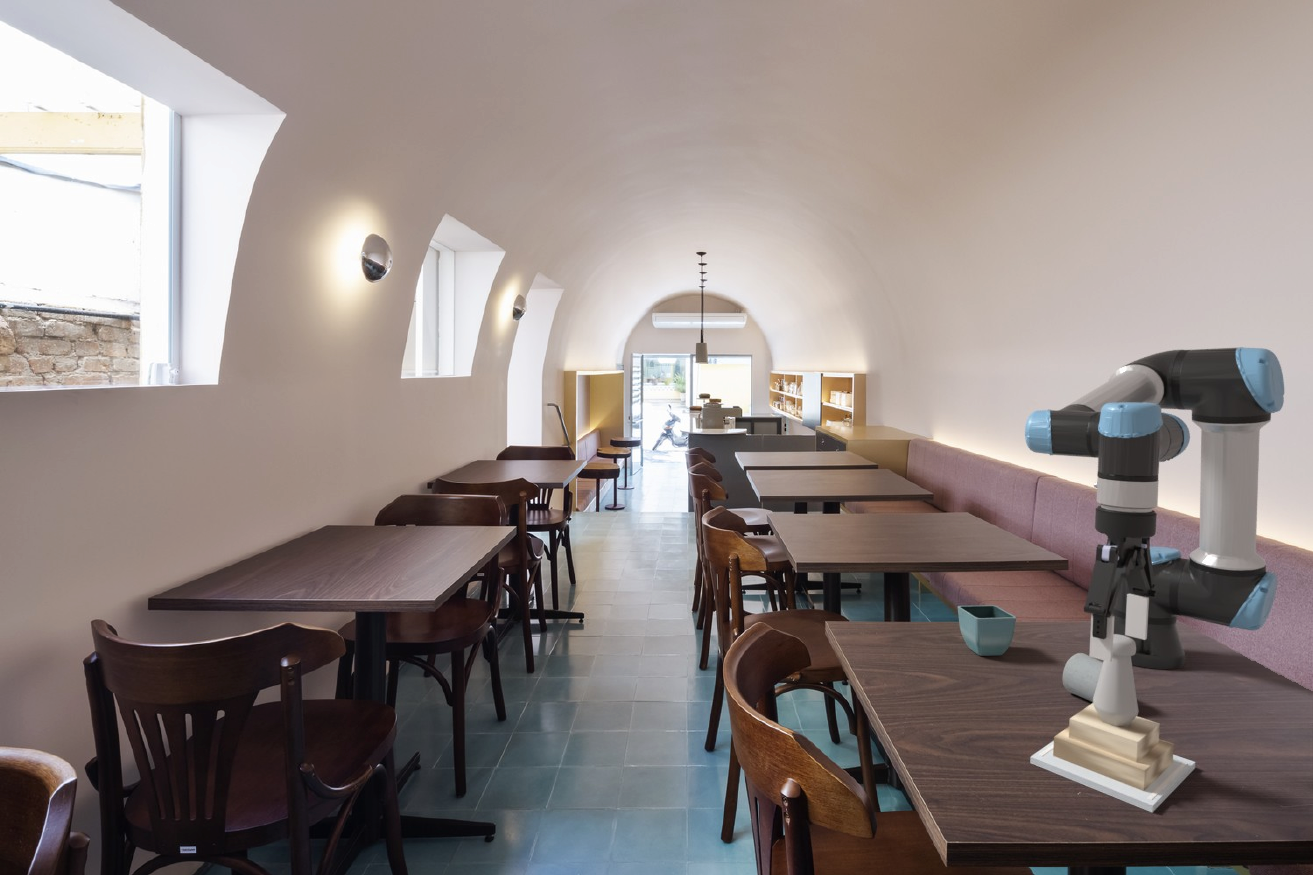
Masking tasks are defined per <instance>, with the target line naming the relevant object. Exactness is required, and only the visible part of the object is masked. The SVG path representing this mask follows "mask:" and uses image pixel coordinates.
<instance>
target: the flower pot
mask: <svg viewBox="0 0 1313 875" xmlns="http://www.w3.org/2000/svg"><path fill="white" fill-rule="evenodd" d="M957 613H958V621H959V622H958V625H959V629H960V633H961V636H962V638H963V641H964V642H965V644H966V646H967V647H968V648H969V649H970V650H972V652H974V653H975V654H977V655H978V656H980V657H983V656H990V657H991V656H1003V654H1005V653H1006V651H1008V648H1010V645H1011V643H1012V641H1013V639H1014V633H1015V628H1016V622H1017V617H1016V616H1015V615H1014V614H1012V613H1010V612H1008V611H1006V610H1005V609H1003V608H1001V607H1000V606H998V605H996V604H995V605H994V604H993V605H992V604H991V605H984V604H983V605H958V606H957Z"/></svg>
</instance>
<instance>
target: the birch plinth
mask: <svg viewBox="0 0 1313 875" xmlns="http://www.w3.org/2000/svg"><path fill="white" fill-rule="evenodd" d="M1068 722H1069V723H1068V724H1069V725H1068V727H1066V728H1065V729H1064V730H1062V731H1060V732H1059V733H1058V734H1056V735H1054V736H1053V741H1054V746H1053V756H1055V757H1057V758H1060V759H1063V760H1065V761H1068V762H1070V763H1073V764H1075V765H1078V766H1080V767H1083V768H1086V769H1088V770H1091V771H1093V772H1096V773H1098V774H1101V775H1104V776H1106V777H1109V778H1111V779H1114V780H1116V781H1119V782H1121V783H1124V784H1127V785H1129V786H1132V787H1134V788H1137V789H1139V790H1142V791H1144V790H1145V789H1146V788H1147V787H1148V786H1149V785H1151V784H1152V783H1153V782H1154V781H1155V780H1156V779H1157V778H1158V777H1159V776H1160V775H1161V774H1162V773H1163V772H1164V771H1165V770H1166V769H1167V768H1168V767H1169V766H1170V765H1171V764H1172V763H1173V755H1174V750H1175V749H1174V748H1175V743H1173V742H1170V741H1167V740H1164V739H1161V738H1160V727H1161V724H1160V723H1159V722H1156V721H1152V720H1151V719H1147V718H1144V717H1140V716H1138V715H1137V716H1136V717H1135V719H1134V720H1133V721H1132V722H1131V724H1130V725H1129V727H1115V726H1113V725H1110V724H1107V723H1104V722H1102V720H1101V719H1100V717H1099V716H1098V713H1097V711H1096V709H1095V707H1094V703H1093V702H1092V703H1090V704H1089V705H1087V706H1086V707H1085V708H1083V709H1082V710H1080V711H1079V712H1077V713H1075V714H1074V715H1073V716H1071V717H1069V721H1068Z"/></svg>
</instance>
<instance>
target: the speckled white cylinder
mask: <svg viewBox="0 0 1313 875" xmlns="http://www.w3.org/2000/svg"><path fill="white" fill-rule="evenodd" d="M1102 665H1103V661H1102V660H1100V659H1097V658H1093V657H1090V656H1089V655H1088V654H1086V653H1083V652H1077V653H1075V654H1073V655H1072V656H1071V657H1070V658H1069V659H1068V660H1067V661H1066V663H1065V665H1064V667H1063V672H1062V684H1063V687H1064V688H1065V690H1066V691H1067V692H1069V693H1071V694H1073V695H1075V696H1078V697H1080V698H1082V699H1084V700H1086V701H1089V702H1092V703H1093V697H1094V693H1095V690H1096V686H1097V683H1098V679H1099V676H1100V672H1101V669H1102Z"/></svg>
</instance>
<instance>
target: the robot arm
mask: <svg viewBox="0 0 1313 875" xmlns="http://www.w3.org/2000/svg"><path fill="white" fill-rule="evenodd" d="M1284 381H1285V380H1284V375H1283V370H1282V366H1281V363H1280V361H1279V358H1278V356H1276V354H1275V353H1274V352H1273V351H1272V350H1270V349H1267V348H1262V347H1261V348H1260V347H1242V346H1241V347H1225V348H1224V347H1222V348H1201V349H1199V348H1198V349H1172V350H1166V351H1161V352H1157V353H1154V354H1151V355H1148V356H1145V357H1141V358H1139V359H1137V360H1134V361H1131V362H1129V363H1127V364H1125V365H1123V366H1122V367H1120V368H1118V369H1117V370H1115V371H1114V372H1113V373H1112V375H1110V377H1109V379H1108V381H1107V382H1105V383H1103V384H1101V385H1100V386H1098V387H1096V388H1094V389H1093V390H1092V391H1089V392H1088V393H1086V394H1085V395H1083V396H1081V397H1080V398H1077V399H1076V400H1075V401H1073V402H1071V403H1070V404H1068V405H1066V406H1064V407H1063V408H1061V409H1059V410H1053V409H1043V410H1042V409H1041V410H1034V411H1033V412H1031V414H1029V416H1028V417H1027V419H1026V422H1025V426H1024V440H1025V443H1026V445H1027V447H1028V449H1029V450H1030V451H1032V452H1033V453H1036V454H1037V453H1038V454H1045V455H1046V454H1047V455H1049V456H1067V457H1081V458H1082V457H1083V458H1095V459H1096V458H1097V473H1096V474H1097V475H1096V476H1097V480H1096V481H1094V483H1093V487H1094V488H1095V489H1096V503H1097V504H1099V505H1098V506H1096V508H1095V513H1094V514H1095V517H1094V529H1095V530H1096V532H1098V533H1100V534H1104V535H1105V536H1106V537H1107V540H1106V544H1105V545H1104V544H1097V546H1096V552H1095V561H1094V566H1093V570H1092V574H1091V577H1090V578H1091V579H1090V582H1089V587H1088V590H1087V596H1086V599H1085V600H1086V601H1085V603H1084V604H1085V605H1084V606H1083V612H1084V613H1087V614H1091V615H1090V632H1089V633H1090V638H1089V655H1088V656H1090V657H1093V658H1095V659H1097V660H1099V661H1108V662H1111V661H1112V656H1113V635H1114V634H1119V635H1124V636H1127V637H1130V638H1131V639H1133V640H1134V641H1135V644H1136V653H1135V655H1133V656H1131V662H1132V666H1137V667H1142V668H1147V669H1149V668H1150V669H1157V670H1173V669H1178V668H1179V669H1180V668H1181V667H1184V666H1185V662H1186V660H1185V659H1186V653H1185V650H1184V647H1183V643H1182V640H1181V636H1180V634H1179V631H1178V626H1177V619H1178V618H1177V616H1180V617H1184V618H1188V619H1192V620H1198V621H1201V622H1202V621H1203V622H1206V623H1211V624H1215V625H1219V626H1225V627H1228V628H1229V629H1230V628H1231V629H1233V628H1235V629H1241V630H1247V631H1257V630H1259V629H1261V628H1262V627H1264V625H1265V623H1266V622H1267V619H1268V618H1269V616H1270V613H1271V611H1272V607H1273V604H1274V601H1275V598H1276V594H1277V590H1278V575H1277V574H1276V573H1273V572H1272V571H1267V570H1266V569H1267V568H1266V567H1267V562H1266V560H1265V558H1264V557H1263V556H1261V555H1260V554H1258V553H1257V521H1258V520H1257V519H1258V517H1257V516H1258V497H1259V496H1258V494H1259V492H1258V490H1259V489H1258V488H1259V487H1258V486H1259V464H1260V463H1259V461H1260V456H1259V455H1260V433H1261V432H1260V430H1261V429H1263V427H1265V426H1266V425H1267V424H1268V423H1270V422H1271V421H1272V414H1274V413H1278V412H1280V411H1281V410H1282V408H1283V407H1284V402H1285V400H1284V398H1285V397H1284V395H1285V382H1284ZM1162 409H1164V410H1181V411H1182V410H1184V411H1191V421H1192V422H1193V423H1194V424H1195V425H1196V426H1197V427H1199V429H1200V430H1201V431H1200V432H1201V434H1200V435H1201V436H1200V443H1201V444H1200V481H1199V482H1200V486H1199V488H1200V489H1199V492H1200V493H1199V496H1200V497H1199V541H1198V543H1199V546H1198V547H1197V548H1196V549H1194V550H1193V551H1191V552H1189V559H1188V558H1183V555H1182V553H1181V550H1179V549H1177V548H1172V547H1167V546H1151V543H1150V542H1151V538H1153V537H1154V536H1155V535H1156V532H1157V531H1156V530H1157V515H1158V514H1157V512H1156V511H1155V510H1153V509H1155V508H1157V507H1158V505H1159V504H1158V502H1159V501H1158V499H1159V473H1160V472H1159V471H1160V463H1163V462H1167V461H1170V460H1173V459H1174V458H1176V457H1178V456H1179V455H1181V454H1182V453H1184V452H1185V450H1186V449H1187V447H1188V445H1189V443H1190V438H1191V435H1190V434H1191V433H1190V429H1189V427H1188V425H1187V424H1186V422H1185V421H1184V420H1182V419H1181V418H1180V417H1178V416H1176V415H1174V414H1171V413H1167V412H1162Z"/></svg>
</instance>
